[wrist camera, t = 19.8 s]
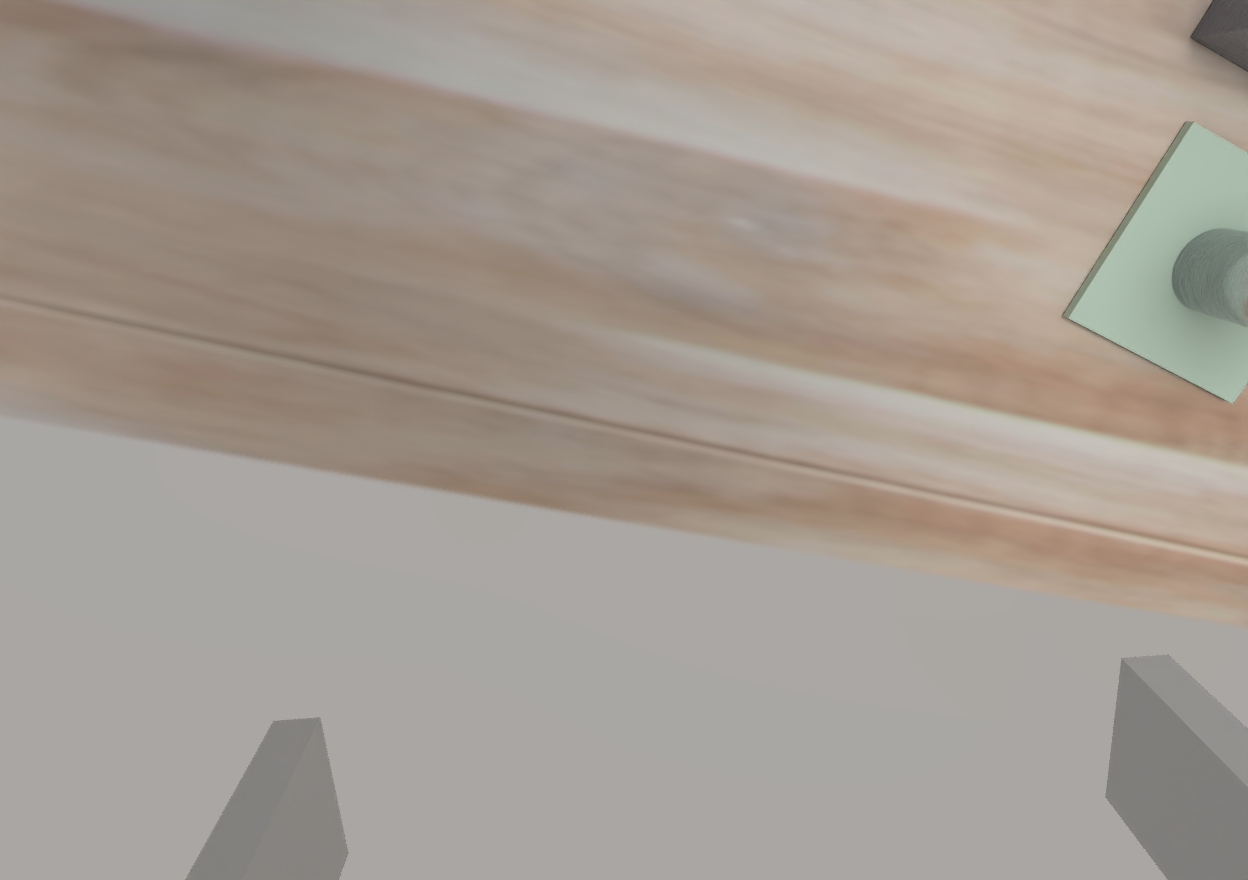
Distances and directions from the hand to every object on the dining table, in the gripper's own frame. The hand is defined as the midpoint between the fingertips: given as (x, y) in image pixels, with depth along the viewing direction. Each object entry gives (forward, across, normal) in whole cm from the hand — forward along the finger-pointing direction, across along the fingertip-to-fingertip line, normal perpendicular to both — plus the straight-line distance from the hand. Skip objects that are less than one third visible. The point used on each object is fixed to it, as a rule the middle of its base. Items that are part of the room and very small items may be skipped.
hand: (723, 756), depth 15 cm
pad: (+32, +27, +2) cm, 42 cm away
